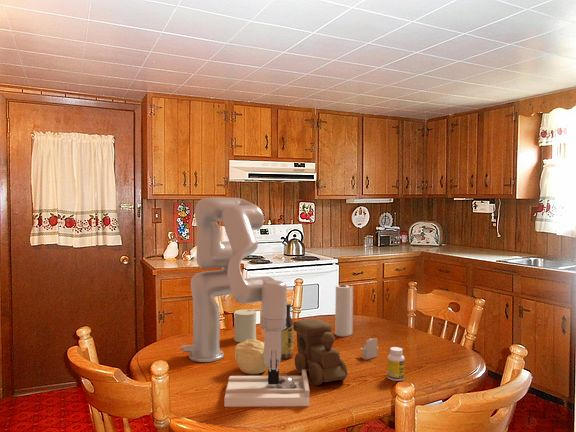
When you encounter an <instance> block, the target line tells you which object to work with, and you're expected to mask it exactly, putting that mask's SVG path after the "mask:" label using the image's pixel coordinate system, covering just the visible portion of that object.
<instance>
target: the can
mask: <svg viewBox="0 0 576 432" xmlns="http://www.w3.org/2000/svg"><path fill="white" fill-rule="evenodd" d="M233 312H234V338H233V340H234V341H235V342H237V343H242V342H244V341H246V340H247V339H248V340H257V311H256V310H254V309H247V308H246V309H244V308H243V309H239V310H238V309H237V310H234V311H233Z"/></svg>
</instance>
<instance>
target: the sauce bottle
mask: <svg viewBox="0 0 576 432" xmlns="http://www.w3.org/2000/svg"><path fill="white" fill-rule="evenodd" d="M291 307H292V305H291V303H290V302H287V316H286V329H284V330H282V353H281V360H282V359H284V360H287V359H291V358H293V354H294V330H293V322H294V321H293V319H292V316H291Z"/></svg>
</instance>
